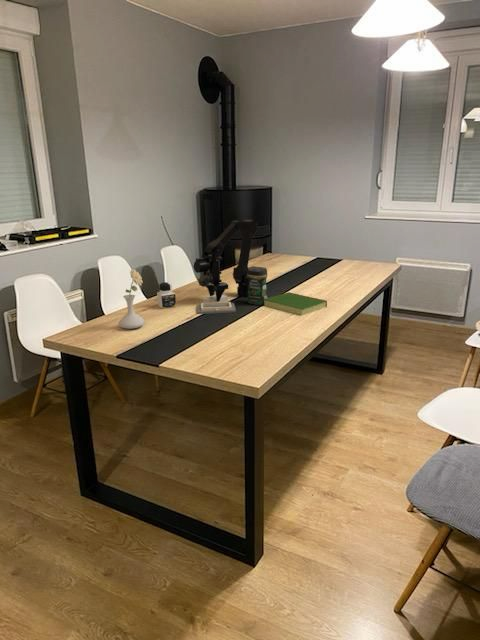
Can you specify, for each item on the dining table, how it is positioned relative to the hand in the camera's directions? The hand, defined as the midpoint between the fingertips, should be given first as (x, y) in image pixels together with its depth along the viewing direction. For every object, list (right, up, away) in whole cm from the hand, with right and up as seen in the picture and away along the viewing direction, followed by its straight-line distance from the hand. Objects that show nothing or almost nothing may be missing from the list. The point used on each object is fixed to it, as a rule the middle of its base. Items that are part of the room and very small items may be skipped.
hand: (215, 300), depth 245 cm
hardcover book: (+39, -4, -9) cm, 40 cm away
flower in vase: (-34, -13, -34) cm, 50 cm away
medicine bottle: (-24, -4, -5) cm, 24 cm away
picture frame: (0, -1, 0) cm, 1 cm away
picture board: (+1, -5, -12) cm, 13 cm away
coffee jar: (+21, -2, -3) cm, 22 cm away
